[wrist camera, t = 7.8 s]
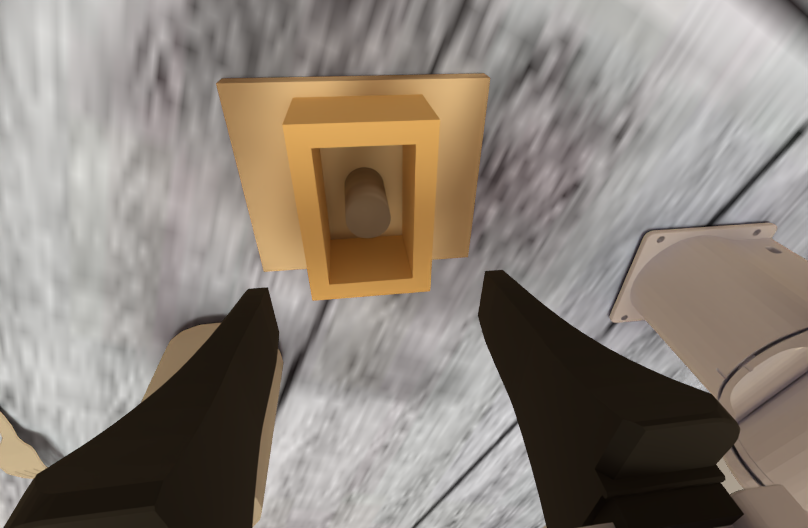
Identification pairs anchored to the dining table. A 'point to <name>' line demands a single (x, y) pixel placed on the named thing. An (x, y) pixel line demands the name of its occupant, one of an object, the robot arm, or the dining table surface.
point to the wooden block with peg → (354, 161)
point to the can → (180, 353)
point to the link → (412, 251)
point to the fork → (17, 453)
